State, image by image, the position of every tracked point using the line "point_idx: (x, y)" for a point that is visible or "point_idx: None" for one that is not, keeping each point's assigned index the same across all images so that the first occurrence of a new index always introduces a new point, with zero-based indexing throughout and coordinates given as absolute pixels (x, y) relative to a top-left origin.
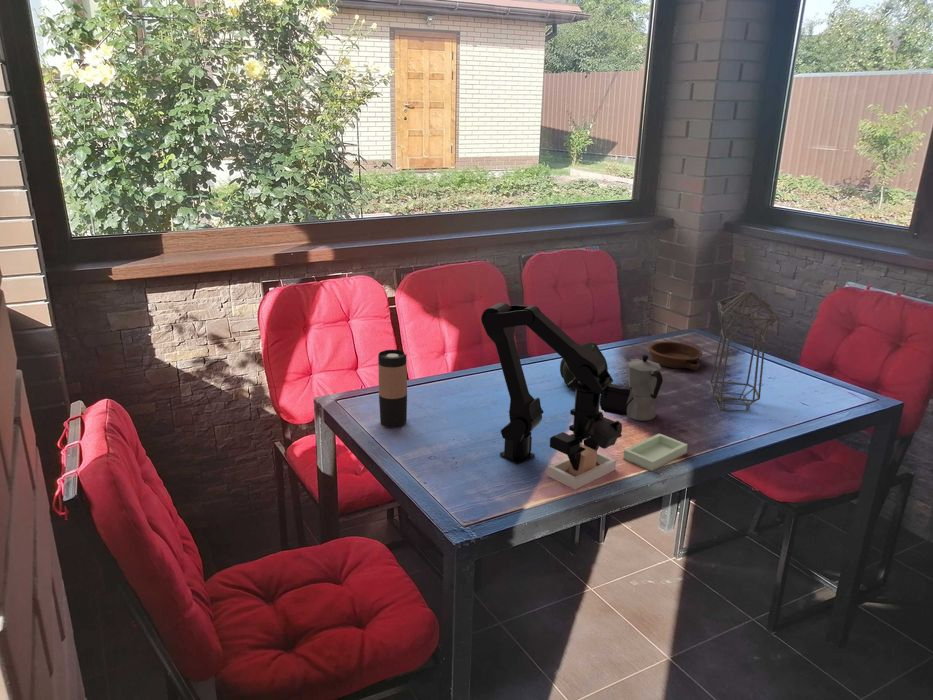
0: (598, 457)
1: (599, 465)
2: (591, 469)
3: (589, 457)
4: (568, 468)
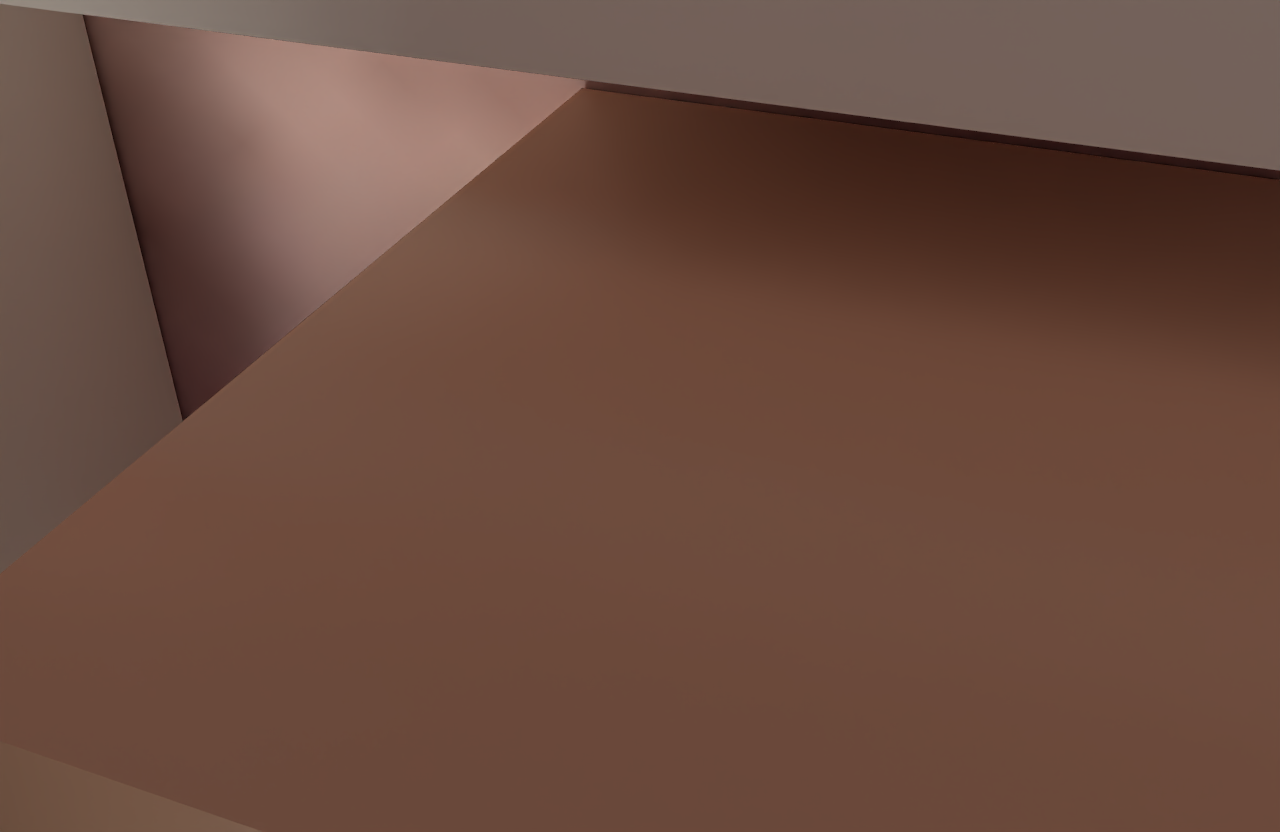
0: (11, 413)
1: (378, 40)
2: (1011, 111)
3: (758, 723)
4: None
